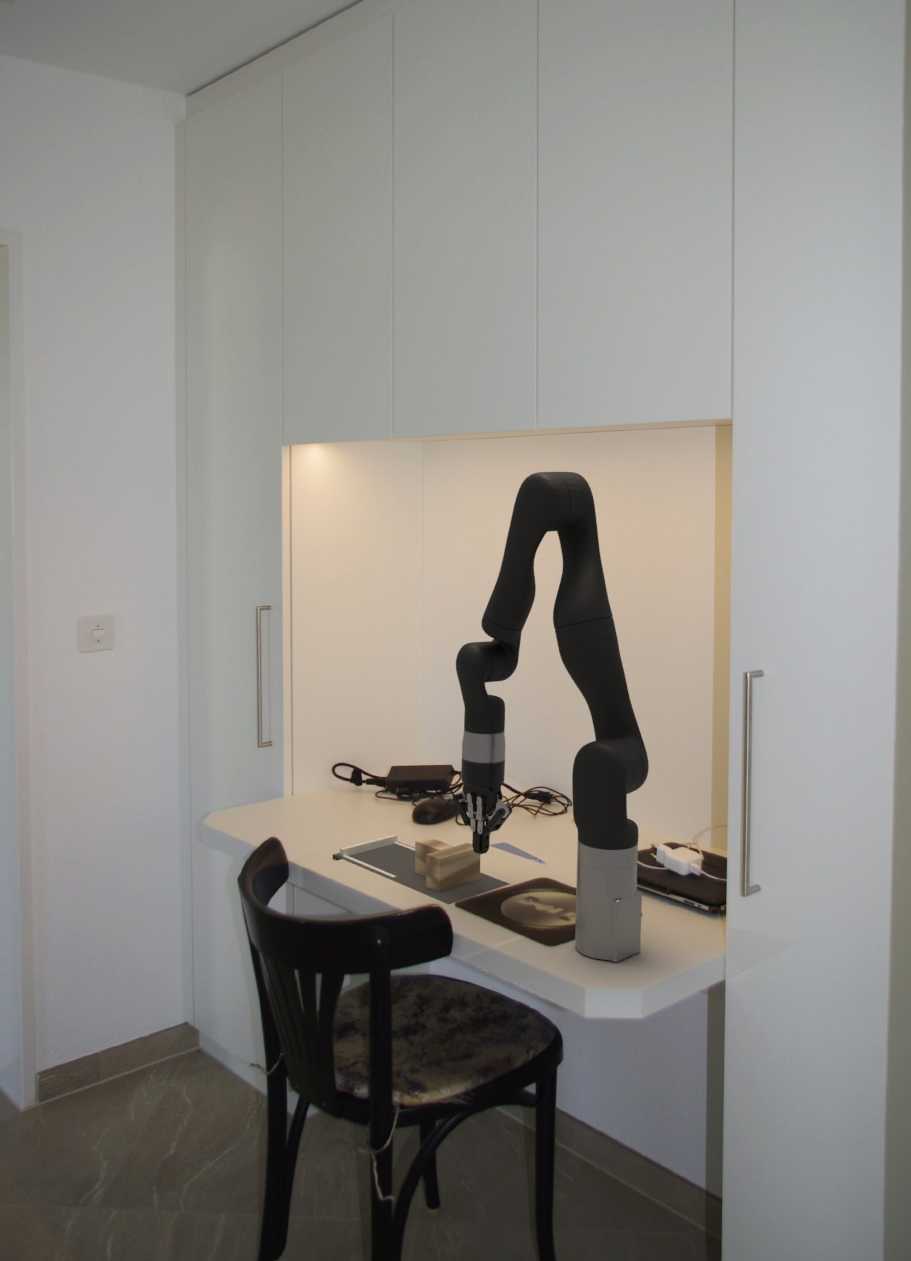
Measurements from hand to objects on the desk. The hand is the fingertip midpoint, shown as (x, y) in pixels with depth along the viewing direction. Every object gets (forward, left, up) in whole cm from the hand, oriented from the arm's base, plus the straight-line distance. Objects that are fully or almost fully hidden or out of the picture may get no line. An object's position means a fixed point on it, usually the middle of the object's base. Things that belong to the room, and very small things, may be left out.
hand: (480, 852), depth 174 cm
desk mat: (+17, 0, -8) cm, 19 cm away
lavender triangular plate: (+12, -20, -9) cm, 25 cm away
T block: (+11, 0, -8) cm, 13 cm away
